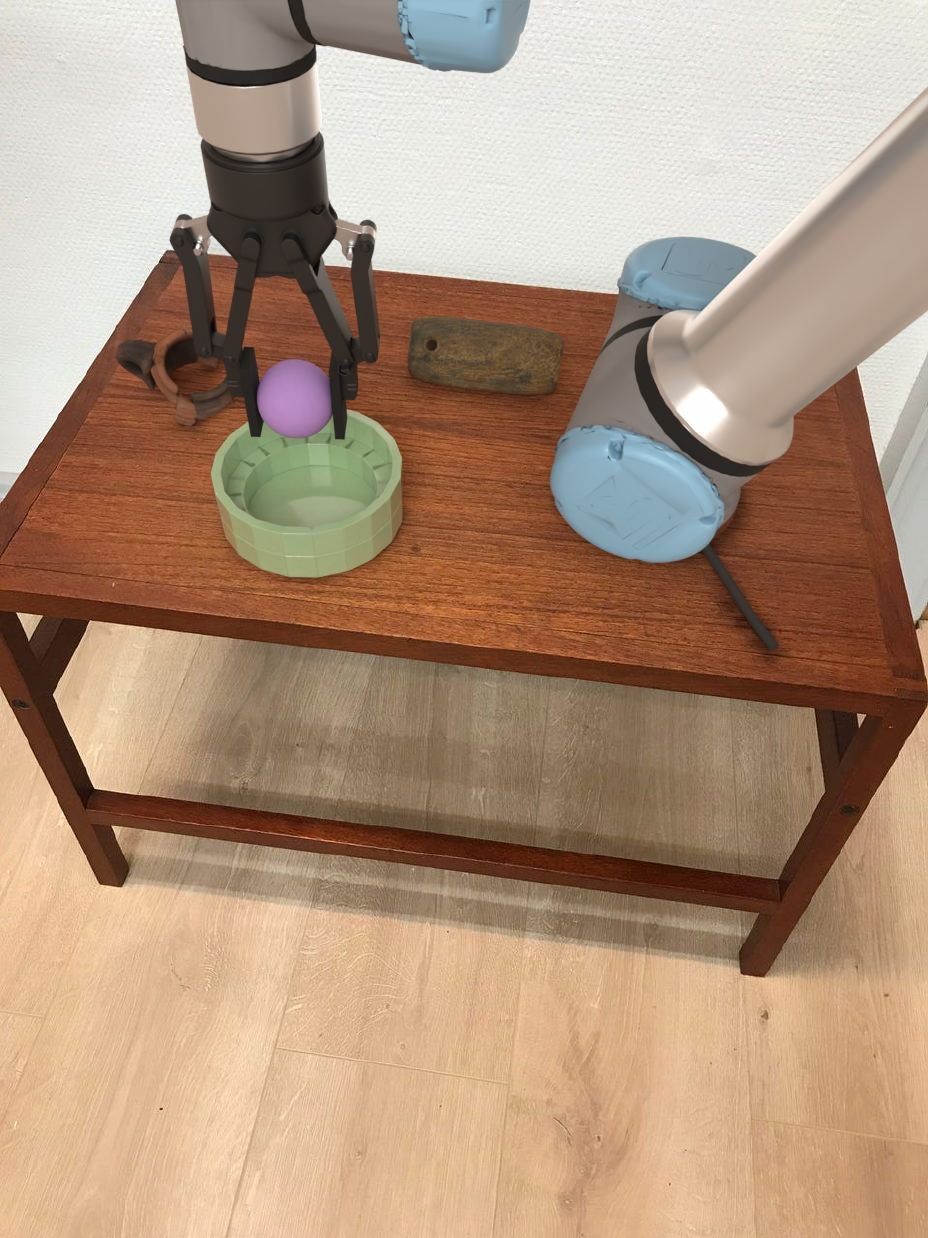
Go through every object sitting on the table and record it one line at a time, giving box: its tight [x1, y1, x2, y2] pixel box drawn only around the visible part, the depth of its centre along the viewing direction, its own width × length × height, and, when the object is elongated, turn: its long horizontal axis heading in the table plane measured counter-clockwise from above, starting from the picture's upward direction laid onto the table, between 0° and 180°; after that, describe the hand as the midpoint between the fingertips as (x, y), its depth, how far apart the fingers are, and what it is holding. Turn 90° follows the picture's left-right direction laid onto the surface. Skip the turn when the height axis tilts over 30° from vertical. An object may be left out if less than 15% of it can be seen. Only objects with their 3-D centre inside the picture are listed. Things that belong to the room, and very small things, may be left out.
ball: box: [257, 358, 333, 439], centre depth 76 cm, size 6×6×6 cm
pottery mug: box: [114, 326, 234, 427], centre depth 93 cm, size 12×10×8 cm
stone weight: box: [407, 315, 565, 396], centre depth 95 cm, size 15×7×7 cm, turn 87°
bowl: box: [210, 408, 405, 579], centre depth 83 cm, size 16×16×6 cm
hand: (299, 426), depth 78 cm, fingers closed on ball, 6 cm apart
